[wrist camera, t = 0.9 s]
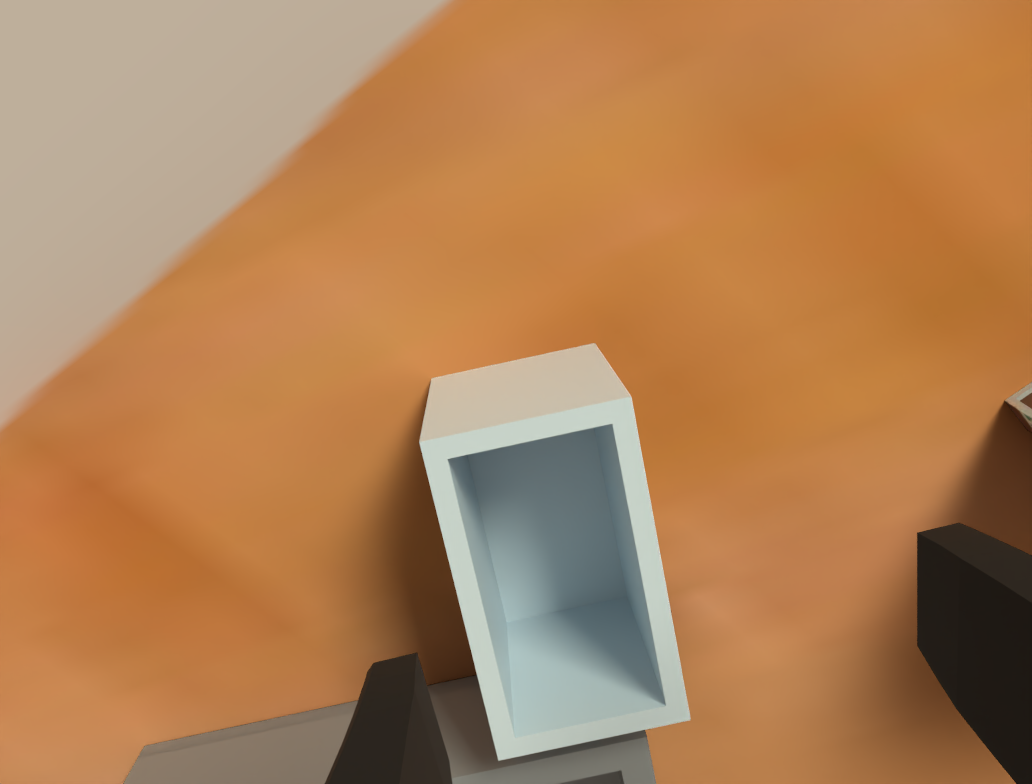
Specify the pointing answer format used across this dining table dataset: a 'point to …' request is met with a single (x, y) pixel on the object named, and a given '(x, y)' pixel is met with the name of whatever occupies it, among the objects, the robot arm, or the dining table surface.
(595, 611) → the small crate
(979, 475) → the dining table surface
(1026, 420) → the food container
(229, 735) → the big crate
